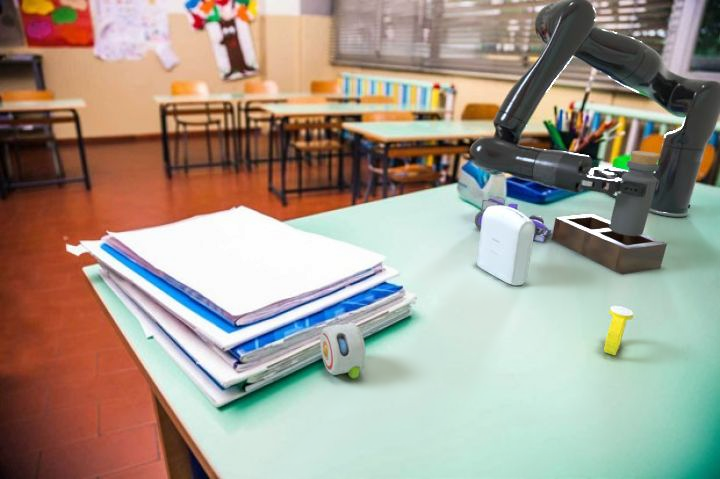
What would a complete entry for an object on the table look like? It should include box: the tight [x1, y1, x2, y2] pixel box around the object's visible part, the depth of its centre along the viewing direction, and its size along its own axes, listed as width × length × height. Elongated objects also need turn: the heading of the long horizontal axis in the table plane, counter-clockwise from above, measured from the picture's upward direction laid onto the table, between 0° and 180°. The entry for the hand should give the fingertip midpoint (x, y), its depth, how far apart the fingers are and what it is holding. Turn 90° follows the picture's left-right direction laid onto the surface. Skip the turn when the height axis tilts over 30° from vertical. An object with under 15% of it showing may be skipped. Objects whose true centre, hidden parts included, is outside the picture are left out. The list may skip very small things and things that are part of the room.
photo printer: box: [476, 205, 535, 286], centre depth 86 cm, size 10×4×12 cm, turn 26°
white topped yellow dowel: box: [603, 305, 634, 356], centre depth 65 cm, size 6×3×6 cm, turn 144°
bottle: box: [609, 150, 660, 236], centre depth 91 cm, size 6×6×15 cm
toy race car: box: [474, 195, 552, 243], centre depth 109 cm, size 10×15×6 cm, turn 57°
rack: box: [551, 213, 668, 275], centre depth 99 cm, size 18×10×5 cm, turn 21°
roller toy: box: [319, 322, 367, 379], centre depth 59 cm, size 4×6×6 cm
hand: (651, 188), depth 89 cm, fingers closed on bottle, 6 cm apart
